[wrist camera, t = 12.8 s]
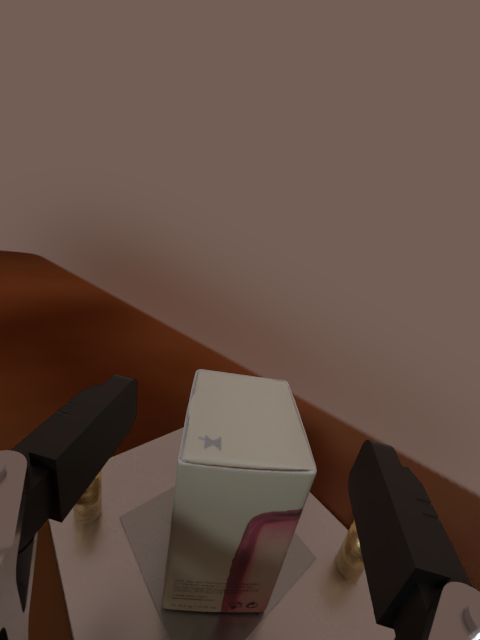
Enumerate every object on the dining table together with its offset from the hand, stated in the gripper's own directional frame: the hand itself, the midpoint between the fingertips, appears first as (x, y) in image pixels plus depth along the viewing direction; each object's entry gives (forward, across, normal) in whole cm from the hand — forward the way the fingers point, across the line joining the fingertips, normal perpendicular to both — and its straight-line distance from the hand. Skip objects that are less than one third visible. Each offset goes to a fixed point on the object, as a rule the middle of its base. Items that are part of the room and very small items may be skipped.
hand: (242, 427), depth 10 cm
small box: (+1, 0, +8) cm, 8 cm away
